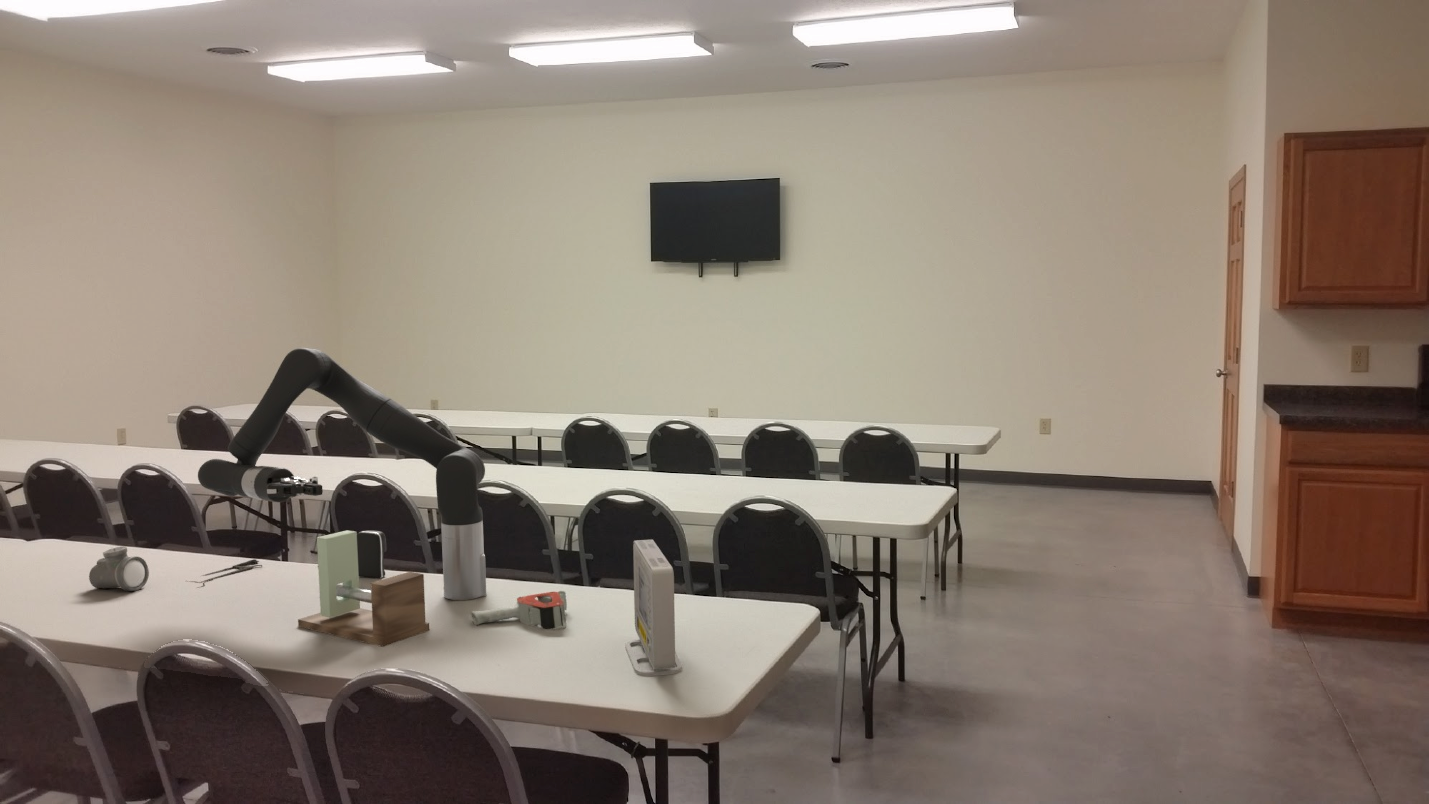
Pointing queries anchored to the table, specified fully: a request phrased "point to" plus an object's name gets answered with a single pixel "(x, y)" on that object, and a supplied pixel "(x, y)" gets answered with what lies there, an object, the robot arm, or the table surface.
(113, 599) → the table surface
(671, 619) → the network device
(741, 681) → the table surface
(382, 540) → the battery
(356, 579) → the pale green tall slab
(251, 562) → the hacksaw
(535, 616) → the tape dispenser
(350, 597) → the pipe
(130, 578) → the pipe fitting
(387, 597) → the base board
